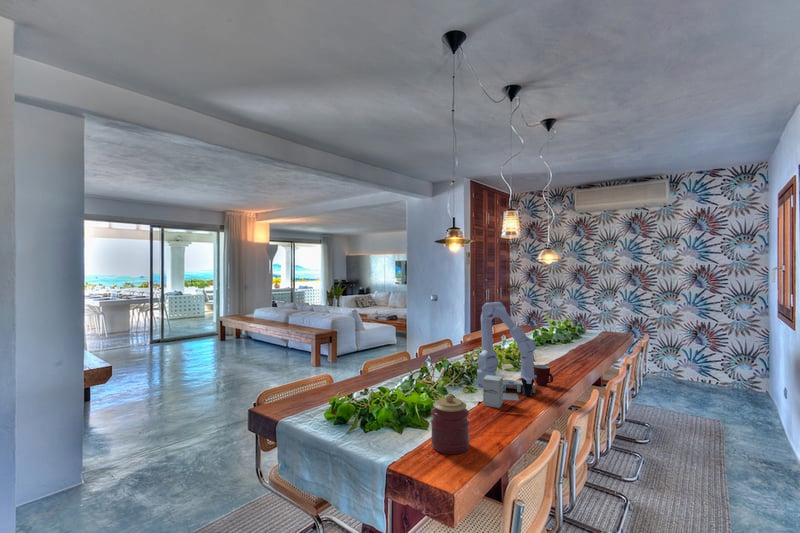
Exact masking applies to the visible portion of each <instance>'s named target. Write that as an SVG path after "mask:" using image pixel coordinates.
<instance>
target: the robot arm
mask: <svg viewBox="0 0 800 533" xmlns="http://www.w3.org/2000/svg"><path fill="white" fill-rule="evenodd" d="M494 318H498V319H500V320H501V321H502V322H503V323H504V325H505V326H506V327H507V328H508V330H510V331H509V334H510V336H511V337H512V339H513V340H514V341H515V343H516V345H518V346H517V349H518V351H519V354H520V355H519V356H520V378H521V379H520V381H522V383H523V386H524V391H525V395H524V396H528V395H530V394H531V389H532V386H533V384H534V383H535V378H536V377H537V376H536V375H534V365H535V363H534V358H535V357H534V354H535V350H536V349H537V348H536V347H537V346H536V345H537V344H536V342H535V341H534V340H533V339H531V338H529V336H528V335H526V333H525V332H524V329H523V327H520V326H517V325H516V324H515V322H514V321H513V319H512V317H511V316H510V315H509V313H508V311H507V308H506V306H504V304H503V303H502V302H501V301H494V302H485V303H484V304H483V305H482V306H481V314H480V331H481V332H480V334H481V352H480V353H479V355H478V360H477V365H478V368H479V369H478V368H477V370H476V385H477V387H478V388H483V378H484V377H485V376H486V375H492V376H496V369H497V367H498V366H499V359H498V357H497V353H496V352H495V351H494V345H493V344H494V343H493V341H494V340H493V324H492V323H493V321H492V320H493V319H494Z"/></svg>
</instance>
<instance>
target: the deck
mask: <svg viewBox="0 0 800 533" xmlns="http://www.w3.org/2000/svg"><path fill="white" fill-rule="evenodd" d="M503 401H517V402H519V401H520V399H519V395H518V393H512V392H503Z"/></svg>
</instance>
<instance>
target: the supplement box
mask: <svg viewBox="0 0 800 533" xmlns="http://www.w3.org/2000/svg"><path fill="white" fill-rule="evenodd" d="M503 380H504V377H503V376H498V375H495V376H492V375H486V376H485V377H484V378H483V387H482V405H483V406H485V407H491V408H497V409H500V408H501V407H502V405H503V402H504V400H503V393H504V391H503Z"/></svg>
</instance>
